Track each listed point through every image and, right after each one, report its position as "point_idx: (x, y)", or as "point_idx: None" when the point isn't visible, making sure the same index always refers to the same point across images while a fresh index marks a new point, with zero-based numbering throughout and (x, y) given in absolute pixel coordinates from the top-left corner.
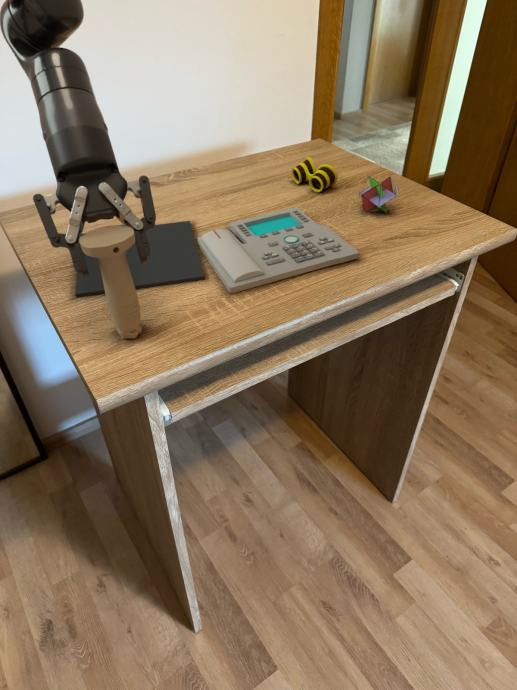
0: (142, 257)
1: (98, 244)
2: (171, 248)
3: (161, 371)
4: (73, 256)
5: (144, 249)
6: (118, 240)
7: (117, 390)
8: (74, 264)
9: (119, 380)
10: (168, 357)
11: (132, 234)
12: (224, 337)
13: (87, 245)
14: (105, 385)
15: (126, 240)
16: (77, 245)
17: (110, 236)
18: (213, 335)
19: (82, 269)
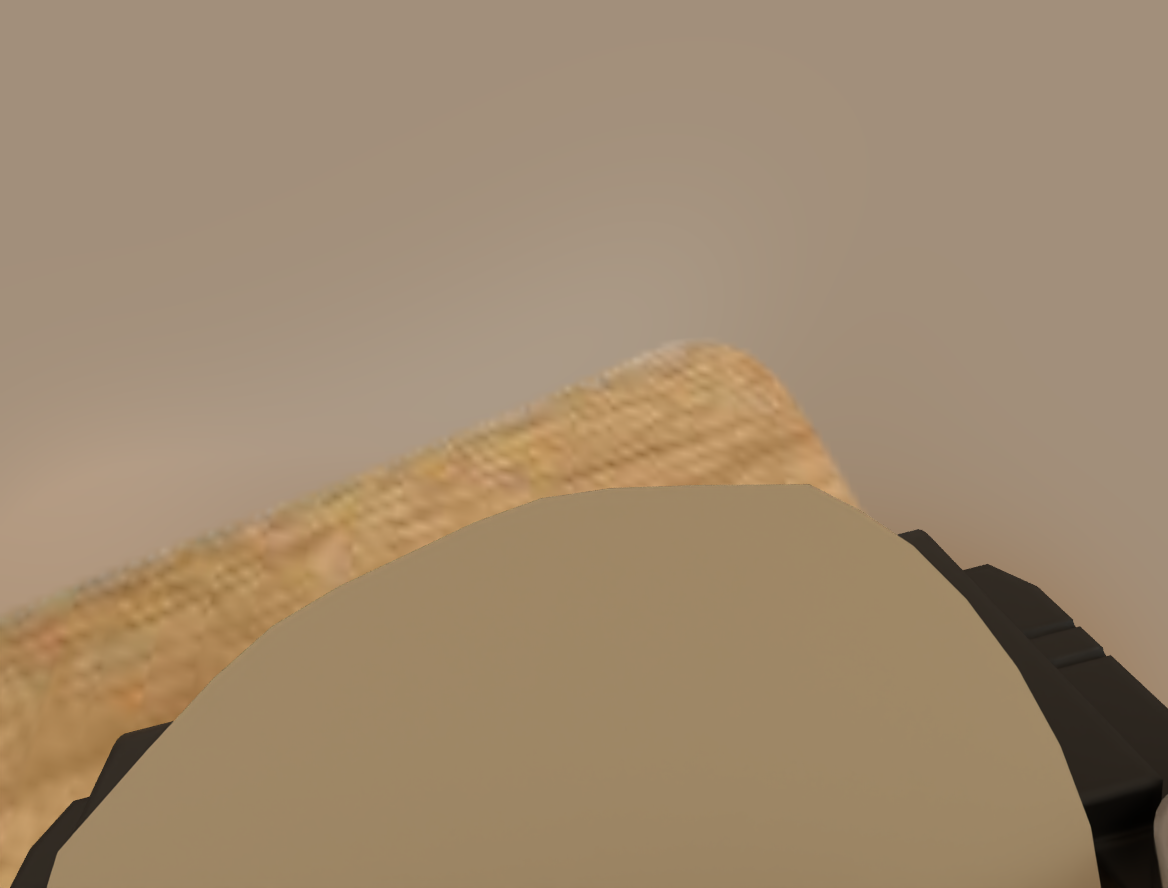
0: (172, 722)
1: (681, 583)
2: None
3: (440, 452)
4: (1101, 684)
5: (83, 812)
6: (340, 676)
7: (660, 355)
8: (1047, 608)
9: (656, 420)
10: (394, 555)
11: (70, 864)
12: (49, 678)
13: (873, 587)
14: (725, 397)
15: (212, 685)
16: (1090, 771)
17: (486, 879)
18: (106, 710)
19: (918, 540)
